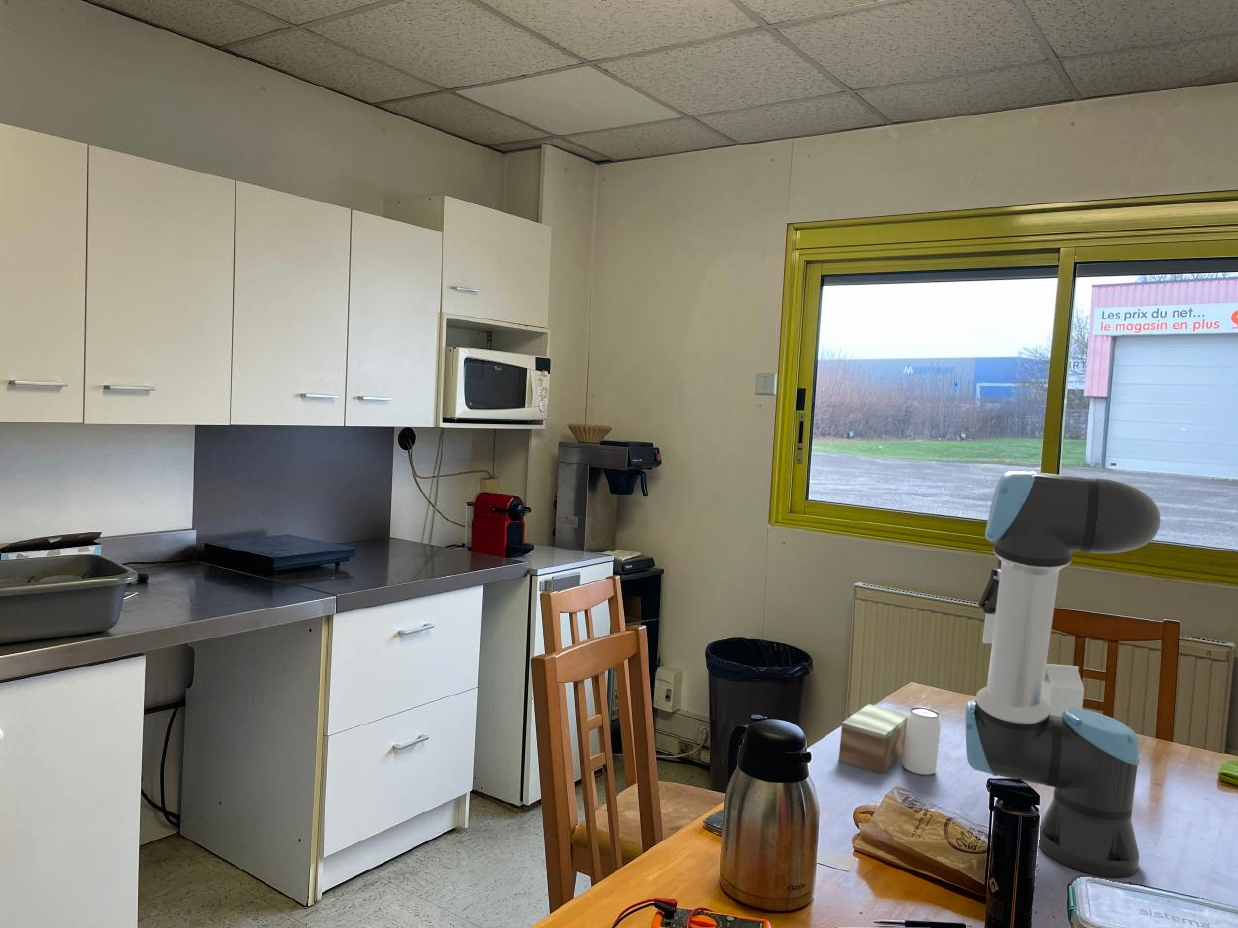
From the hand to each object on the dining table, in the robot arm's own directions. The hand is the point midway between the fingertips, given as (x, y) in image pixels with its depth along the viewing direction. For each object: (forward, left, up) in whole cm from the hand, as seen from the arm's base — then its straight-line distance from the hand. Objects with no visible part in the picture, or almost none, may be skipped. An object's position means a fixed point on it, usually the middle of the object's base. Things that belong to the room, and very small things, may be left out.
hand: (1007, 651), depth 190 cm
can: (-19, +11, -24) cm, 32 cm away
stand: (-19, +20, -23) cm, 36 cm away
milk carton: (+16, -9, -24) cm, 30 cm away
